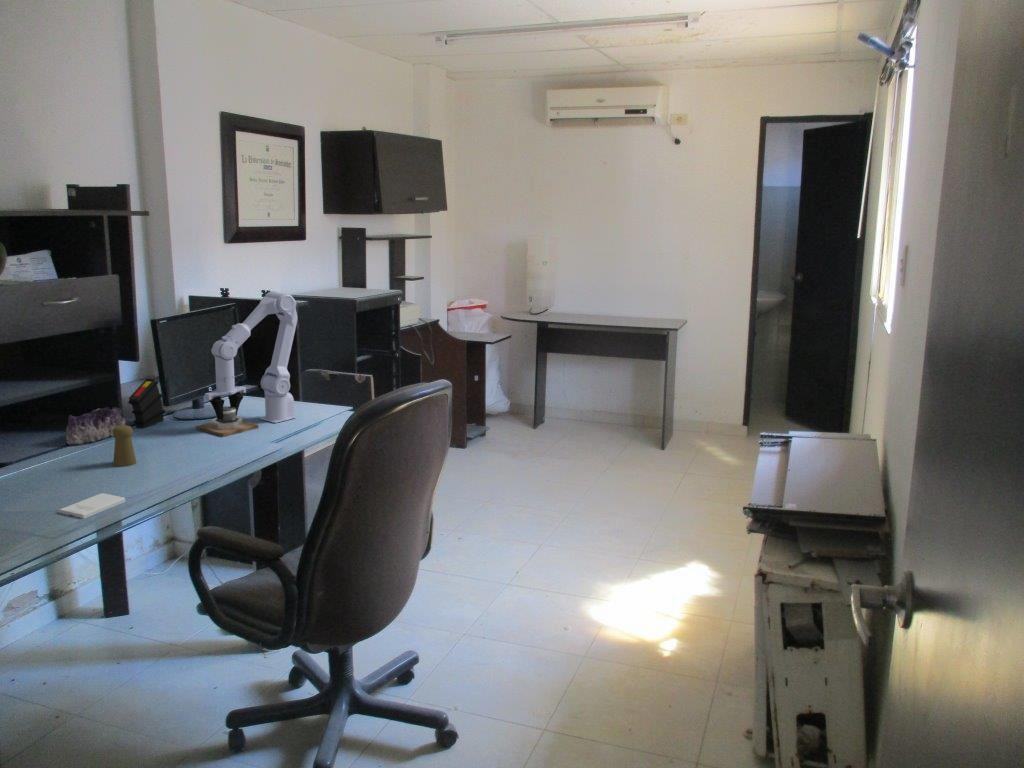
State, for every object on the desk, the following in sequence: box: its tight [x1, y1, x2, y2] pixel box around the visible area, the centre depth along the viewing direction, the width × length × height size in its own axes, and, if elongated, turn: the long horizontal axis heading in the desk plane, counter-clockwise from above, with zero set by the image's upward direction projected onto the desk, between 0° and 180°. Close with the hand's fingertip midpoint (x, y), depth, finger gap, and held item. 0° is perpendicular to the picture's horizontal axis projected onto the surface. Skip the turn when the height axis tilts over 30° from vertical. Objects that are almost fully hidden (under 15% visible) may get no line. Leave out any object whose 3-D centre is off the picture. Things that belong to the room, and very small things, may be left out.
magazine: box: [127, 378, 166, 429], centre depth 273 cm, size 4×13×15 cm, turn 168°
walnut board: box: [195, 420, 259, 438], centre depth 273 cm, size 14×14×1 cm
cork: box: [112, 424, 137, 468], centre depth 234 cm, size 6×6×11 cm
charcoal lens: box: [220, 406, 236, 423], centre depth 272 cm, size 5×5×5 cm
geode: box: [65, 406, 127, 447], centre depth 258 cm, size 20×12×10 cm, turn 168°
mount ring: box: [211, 416, 243, 430], centre depth 273 cm, size 9×9×2 cm
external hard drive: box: [58, 492, 126, 519], centre depth 203 cm, size 2×8×12 cm
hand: (226, 417), depth 272 cm, fingers closed on charcoal lens, 5 cm apart
